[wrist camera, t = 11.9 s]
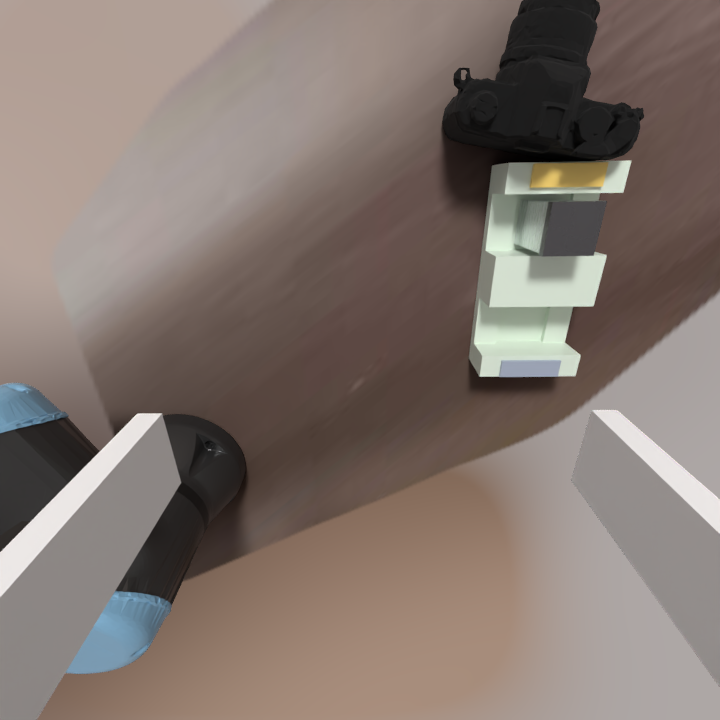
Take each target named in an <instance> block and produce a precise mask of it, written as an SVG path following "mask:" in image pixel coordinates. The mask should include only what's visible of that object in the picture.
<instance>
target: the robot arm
mask: <svg viewBox="0 0 720 720" xmlns="http://www.w3.org/2000/svg"><path fill="white" fill-rule="evenodd" d="M245 469H246V467H245V459H244V456H243V453H242V451H241V449H240V447H239V446H238V444H237V443H236V441H235V440H234V439H233V438H232V437H231V436H230V435H229V434H228V433H227V432H226V431H224V430H223V429H222V428H220V427H219V426H217V425H215V424H213V423H211V422H209V421H207V420H205V419H202V418H199V417H195V416H190V415H181V414H174V415H165V416H163V415H162V413H160V414H136V415H135V416H134V417H133V418H132V419H131V421H130V422H129V423H128V424H127V425H126V426H125V427H124V428H123V429H122V430H121V431H120V432H119V433H118V434H117V435H116V436H115V437H114V438H113V439H112V440H111V441H110V442H109V443H108V444H107V445H106V446H105V447H104V448H103V449H102V450H101V451H99V450H98V449H97V448H96V447H95V446H94V445H93V444H92V443H91V442H90V441H89V440H88V439H87V438H86V437H85V436H84V435H83V434H82V433H81V432H80V430H79V429H78V428H77V427H76V426H75V425H74V424H73V423H72V422H71V421H70V420H69V418H68V415H67V413H65V412H61V411H60V410H59V409H58V408H57V407H56V406H55V405H54V404H53V403H51V402H50V401H49V400H48V399H47V398H46V397H45V396H44V395H43V394H42V393H41V392H40V391H39V390H37V389H36V388H34V387H32V386H30V385H27V384H23V383H8V384H3V385H0V720H37V718H38V717H39V715H40V713H41V712H42V710H43V709H44V707H45V705H46V704H47V702H48V700H49V699H50V697H51V695H52V694H53V692H54V690H55V689H56V687H57V686H58V684H59V682H60V681H61V679H62V677H63V676H64V674H65V673H74V674H89V673H101V672H107V671H111V670H115V669H119V668H121V667H123V666H126V665H128V664H130V663H132V662H134V661H135V660H137V659H138V658H139V657H140V656H142V655H143V654H144V652H146V650H147V649H148V648H149V646H150V645H151V643H152V641H153V639H154V638H155V636H156V634H157V632H158V630H159V628H160V627H161V625H162V623H163V621H164V619H165V617H167V615H168V614H169V613H170V611H171V607H172V603H173V601H174V599H175V597H176V595H177V592H178V590H179V588H180V586H181V583H182V581H183V579H184V577H185V574H186V572H187V570H188V568H189V566H190V563H191V561H192V559H193V557H194V554H195V552H196V550H197V548H198V546H199V543H200V541H201V539H202V537H203V534H204V532H205V530H206V528H207V526H208V524H209V523H210V522H211V521H212V520H213V519H214V518H215V517H216V516H217V515H218V514H219V513H220V512H221V511H222V510H223V508H224V507H225V506H226V505H227V504H229V503H230V502H231V501H232V500H233V498H234V497H235V496H236V494H237V493H238V491H239V488H240V486H241V484H242V481H243V479H244V476H245ZM571 481H572V482H573V483H574V485H575V486H576V487H577V489H578V490H579V492H580V493H581V495H582V496H583V497H584V499H585V500H586V501H587V503H588V504H589V506H590V507H591V508H592V510H593V511H594V513H595V514H596V516H597V517H598V518H599V520H600V521H601V523H602V524H603V525H604V526H605V528H606V529H607V531H608V532H609V534H610V535H611V536H612V538H613V539H614V541H615V542H616V543H617V545H618V546H619V548H620V549H621V550H622V552H623V553H624V555H625V556H626V557H627V559H628V560H629V562H630V563H631V564H632V566H633V567H634V569H635V570H636V571H637V573H638V574H639V575H640V577H641V578H642V580H643V581H644V582H645V584H646V585H647V587H648V588H649V589H650V591H651V592H652V594H653V595H654V596H655V598H656V599H657V600H658V602H659V603H660V605H661V606H662V608H663V609H664V610H665V612H666V613H667V614H668V616H669V617H670V618H671V620H672V621H673V623H674V624H675V626H676V627H677V628H678V630H679V631H680V633H681V634H682V635H683V637H684V638H685V640H686V641H687V642H688V644H689V645H690V647H691V648H692V649H693V651H694V652H695V654H696V655H697V656H698V658H699V659H700V661H701V662H702V663H703V665H704V666H705V667H706V669H707V670H708V672H709V673H710V674H711V676H712V677H713V679H714V680H715V681H716V683H717V684H718V686H719V687H720V499H718V498H717V497H716V496H715V495H714V494H713V493H712V492H711V491H709V490H708V489H707V488H706V487H705V486H704V485H703V484H701V483H700V482H699V481H698V480H697V479H696V478H694V477H693V476H692V475H691V474H690V473H689V472H688V471H686V470H685V469H684V468H683V467H682V466H681V465H680V464H678V463H677V462H676V461H675V460H674V459H672V457H670V456H669V455H668V454H667V453H666V452H665V451H663V450H662V449H661V448H660V447H659V446H658V445H656V444H655V443H654V442H653V441H652V440H651V439H650V438H648V437H647V436H646V435H645V434H644V433H643V432H642V431H640V430H639V429H638V428H637V427H636V426H635V425H633V424H632V423H631V422H630V421H629V420H628V419H627V418H625V417H624V416H623V415H622V414H621V413H620V412H619V411H617V410H592V411H591V414H590V417H589V421H588V424H587V427H586V431H585V435H584V438H583V441H582V444H581V448H580V451H579V455H578V458H577V461H576V465H575V468H574V471H573V475H572V478H571Z"/></svg>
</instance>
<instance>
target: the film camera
mask: <svg viewBox="0 0 720 720" xmlns="http://www.w3.org/2000/svg"><path fill="white" fill-rule="evenodd" d="M599 12H600V5H599V2H597V1H596V0H523V1H522V2H521V5H520V8H519V11H518V16H517V17H516V18H515V19H514V20H513V22H512V24H511V27H510V32H509V36H508V41H507V45H506V50H505V53H504V54H503V55H502V58H501V61H500V65H499V67H500V72H499V73H498V74H497V76H496V80H495V81H492V80H490V79H488V78H487V79H482V80H479V79H475V80H474V79H472V78H471V76H470V70H469V68H459V69H458V70H457V71H456V72H455V73H454V85H455V86H456V87H457V88H458V89H459V90H458V95H457V96H456V97H453V99H452V100H451V101H450V103H449V104H448V105H447V107H446V108H445V111H444V116H443V121H442V122H443V126H444V130H445V134H446V135H447V137H448V138H449V139H450V140H454V141H458V142H461V143H465V144H472V145H476V146H480V147H487V148H493V149H497V150H503V151H508V152H512V153H517V154H525V155H529V156H534V157H539V158H544V159H549V160H558V161H565V162H581V161H594V160H610V159H614V158H616V157H619V156H622V155H624V154H626V153H627V152H628V151H629V150H630V149H631V148H632V147H633V145H634V143H635V141H636V140H637V137H638V134H639V130H640V120H642V119H643V118H644V114H643V108H641V109H640V108H636V109H631V107H630V106H629V105H627V104H625V103H622V102H621V103H619V104H617V105H613V104H607V103H602V102H596V101H592V100H589V99H586V98H583V95H584V93H585V92H586V88H587V85H588V81H589V78H590V75H591V72H590V68H589V67H588V66H587V61H586V60H587V56H588V53H589V50H590V48H591V46H592V43H593V41H594V37H595V34H596V31H597V23H596V21H595V20H596V18H597V16H598V14H599ZM461 70H466V71H467V74H466V79H465V80H461Z"/></svg>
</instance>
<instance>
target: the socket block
mask: <svg viewBox="0 0 720 720" xmlns="http://www.w3.org/2000/svg"><path fill="white" fill-rule="evenodd" d="M630 164H631V161H581V162H523V163H504V164H498V165H492V170H491V178H490V186H489V195H488V203H487V211H486V220H485V228H484V236H483V244H482V253H481V261H480V269H479V278H478V286H477V294H476V302H475V311H474V319H473V327H472V335H471V344H470V352H469V360H470V361H471V363H472V365H473V366H474V368H475V370H476V371H477V373H478V375H479V376H480V377H558V376H575V375H576V372H577V368H578V364H579V360H580V356H581V355H580V354H578V353H577V352H576V351H575V350H573V349H572V348H571V347H570V346H568V345H567V344H566V343H565V339H566V335H567V331H568V327H569V322H570V318H571V314H572V310H573V306H594V302H595V299H596V295H597V291H598V287H599V283H600V279H601V276H602V272H603V268H604V264H605V260H606V256H607V255H604V254H601V253H597V252H594V256H548V257H543V256H540V255H539V253H537V252H534V251H532V250H529V249H527V248H524V247H522V246H519V245H517V244H514V240H515V233H516V227H517V220H518V214H519V207H520V201H521V200H553V199H565V200H579V201H598V200H599V196H600V193H623V191H624V187H625V184H626V180H627V176H628V172H629V168H630Z"/></svg>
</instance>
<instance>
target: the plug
mask: <svg viewBox="0 0 720 720" xmlns="http://www.w3.org/2000/svg"><path fill="white" fill-rule="evenodd" d="M606 203H607V201H579V200H565V199H553V200H521V201H520V207H519V214H518V220H517V227H516V233H515V240H514V244H517V245H519V246H522V247H524V248H527V249H529V250H532V251H534V252H537V253H539V255H540V256H543V257H548V256H594V252H595V248H596V244H597V240H598V236H599V232H600V228H601V224H602V219H603V215H604V211H605V207H606Z"/></svg>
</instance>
